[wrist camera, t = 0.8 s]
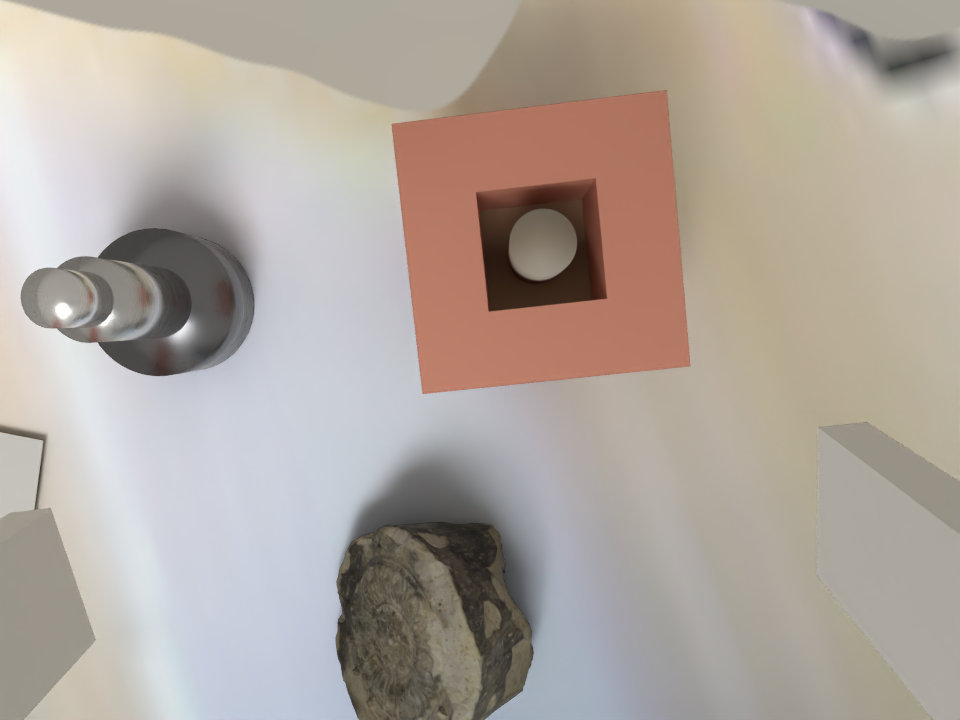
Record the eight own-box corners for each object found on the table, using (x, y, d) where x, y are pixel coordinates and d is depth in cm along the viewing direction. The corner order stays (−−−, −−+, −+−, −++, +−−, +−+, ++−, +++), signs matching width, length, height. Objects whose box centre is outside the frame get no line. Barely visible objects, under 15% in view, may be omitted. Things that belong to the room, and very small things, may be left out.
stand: (605, 326, 32) (650, 330, 22) (470, 341, 32) (456, 351, 23) (592, 188, 32) (632, 131, 22) (455, 204, 32) (434, 154, 22)
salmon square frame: (662, 359, 27) (690, 365, 23) (434, 382, 27) (422, 394, 23) (641, 124, 26) (666, 90, 22) (408, 152, 27) (391, 123, 23)
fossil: (297, 536, 33) (337, 577, 24) (452, 476, 37) (537, 492, 28) (356, 732, 33) (417, 846, 24) (504, 652, 37) (604, 724, 28)
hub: (262, 363, 33) (157, 383, 23) (132, 377, 33) (-27, 402, 23) (244, 229, 32) (129, 190, 22) (113, 244, 33) (-58, 212, 23)
